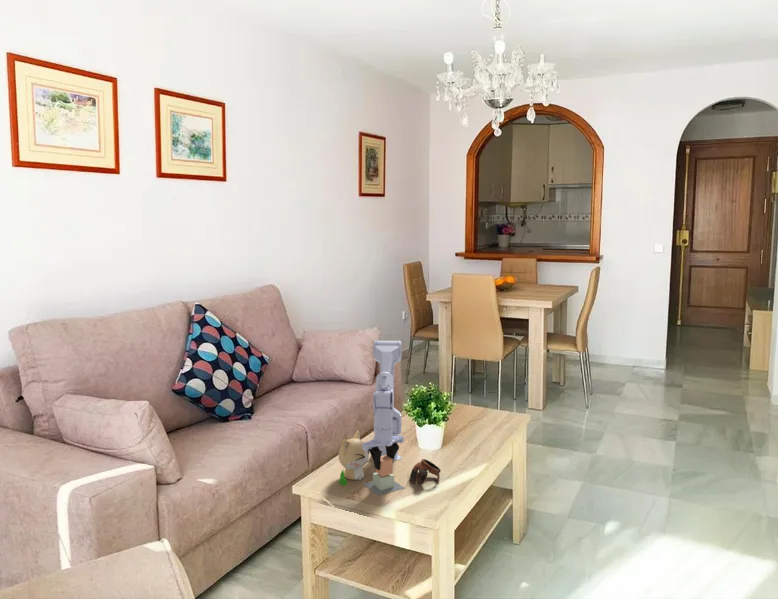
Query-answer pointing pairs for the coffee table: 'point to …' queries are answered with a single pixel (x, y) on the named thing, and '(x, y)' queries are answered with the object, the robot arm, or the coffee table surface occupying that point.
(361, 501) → the coffee table surface
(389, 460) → the brick
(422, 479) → the brown ring with handle
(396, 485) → the plate
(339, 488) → the coffee table surface
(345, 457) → the kitten
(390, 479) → the brick
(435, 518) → the coffee table surface
